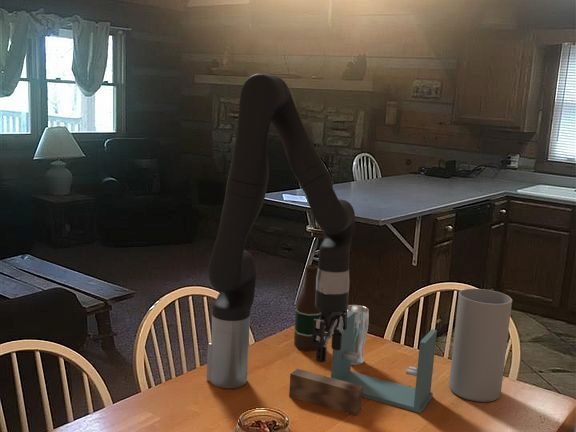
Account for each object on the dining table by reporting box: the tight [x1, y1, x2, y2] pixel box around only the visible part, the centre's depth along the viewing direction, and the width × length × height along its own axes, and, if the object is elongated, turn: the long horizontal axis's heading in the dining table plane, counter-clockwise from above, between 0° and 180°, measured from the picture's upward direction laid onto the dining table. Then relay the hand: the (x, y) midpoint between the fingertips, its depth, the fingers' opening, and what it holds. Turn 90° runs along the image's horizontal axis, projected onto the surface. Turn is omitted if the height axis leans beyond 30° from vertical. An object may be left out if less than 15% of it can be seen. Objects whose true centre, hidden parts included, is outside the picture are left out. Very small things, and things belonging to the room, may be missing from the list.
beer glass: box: [347, 304, 370, 366], centre depth 171 cm, size 7×7×15 cm
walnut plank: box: [288, 368, 363, 417], centre depth 146 cm, size 17×4×6 cm, turn 62°
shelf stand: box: [330, 312, 438, 414], centre depth 152 cm, size 24×10×17 cm, turn 62°
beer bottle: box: [293, 264, 321, 352], centre depth 179 cm, size 8×8×24 cm
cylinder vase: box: [448, 288, 513, 403], centre depth 155 cm, size 12×12×25 cm
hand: (328, 355), depth 145 cm, fingers open, 8 cm apart
